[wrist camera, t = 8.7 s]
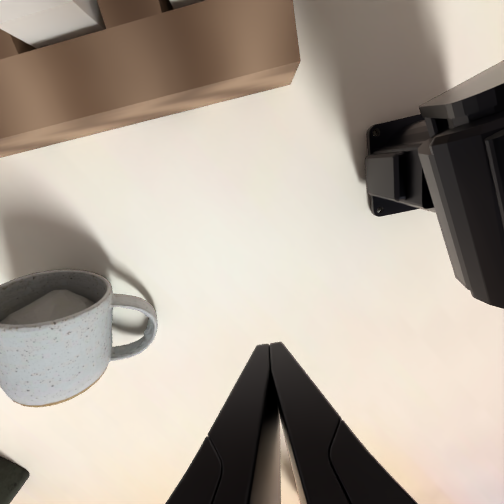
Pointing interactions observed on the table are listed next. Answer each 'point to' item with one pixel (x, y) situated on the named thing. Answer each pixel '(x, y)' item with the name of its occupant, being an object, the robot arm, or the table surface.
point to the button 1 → (183, 3)
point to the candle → (10, 480)
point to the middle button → (50, 20)
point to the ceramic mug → (61, 334)
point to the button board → (142, 67)
